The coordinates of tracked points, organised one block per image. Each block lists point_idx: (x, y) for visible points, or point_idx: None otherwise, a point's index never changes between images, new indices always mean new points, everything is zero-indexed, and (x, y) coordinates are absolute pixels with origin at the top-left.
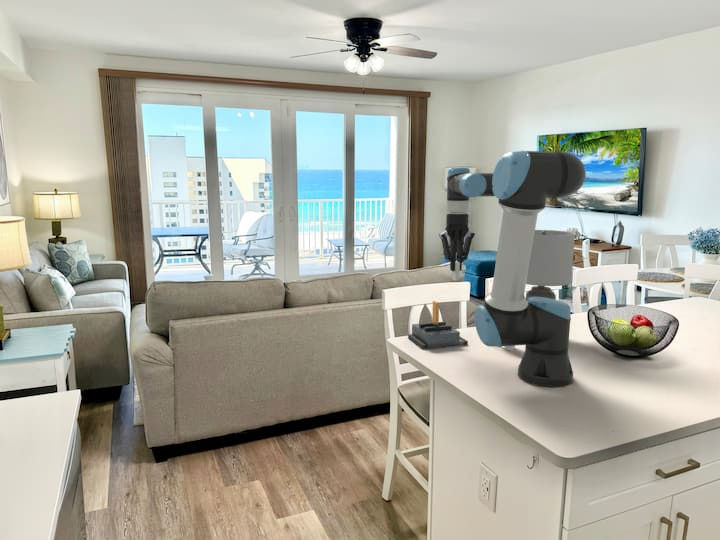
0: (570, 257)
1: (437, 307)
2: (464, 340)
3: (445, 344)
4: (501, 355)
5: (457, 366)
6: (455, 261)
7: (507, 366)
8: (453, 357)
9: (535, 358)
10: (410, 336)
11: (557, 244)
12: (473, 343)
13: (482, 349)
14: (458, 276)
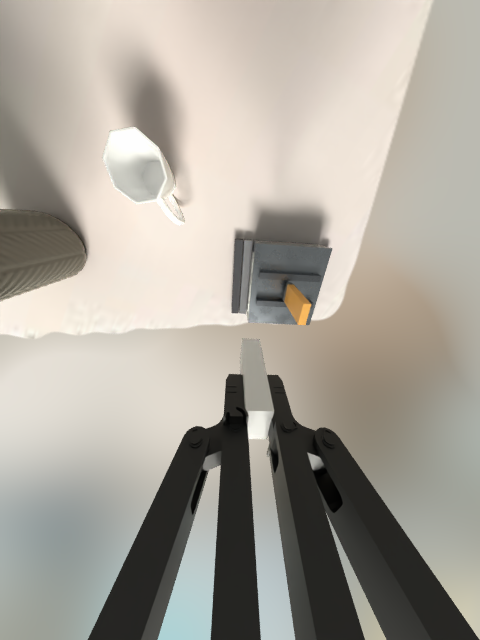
0: None
1: (303, 298)
2: (238, 246)
3: (283, 242)
4: (201, 132)
5: (343, 92)
6: (277, 419)
7: (231, 17)
8: (308, 169)
9: None
10: None
11: None
12: (218, 244)
13: (220, 198)
14: (247, 349)
